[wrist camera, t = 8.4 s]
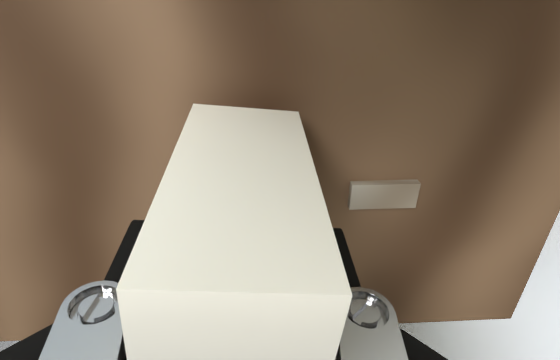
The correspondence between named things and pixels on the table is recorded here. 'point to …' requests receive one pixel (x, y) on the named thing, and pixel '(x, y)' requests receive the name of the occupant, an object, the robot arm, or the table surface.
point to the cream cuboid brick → (236, 248)
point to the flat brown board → (316, 123)
